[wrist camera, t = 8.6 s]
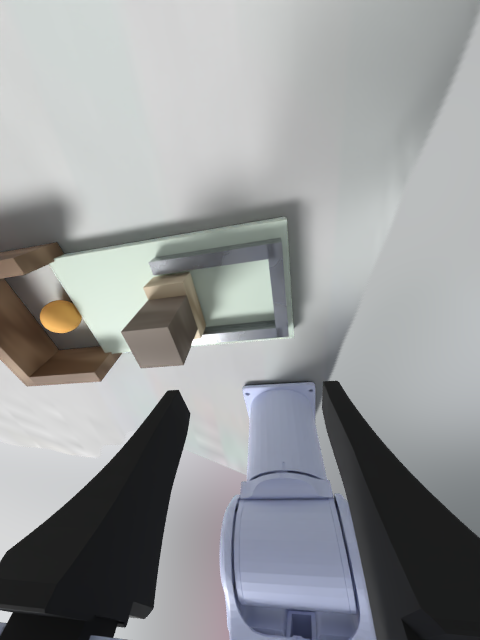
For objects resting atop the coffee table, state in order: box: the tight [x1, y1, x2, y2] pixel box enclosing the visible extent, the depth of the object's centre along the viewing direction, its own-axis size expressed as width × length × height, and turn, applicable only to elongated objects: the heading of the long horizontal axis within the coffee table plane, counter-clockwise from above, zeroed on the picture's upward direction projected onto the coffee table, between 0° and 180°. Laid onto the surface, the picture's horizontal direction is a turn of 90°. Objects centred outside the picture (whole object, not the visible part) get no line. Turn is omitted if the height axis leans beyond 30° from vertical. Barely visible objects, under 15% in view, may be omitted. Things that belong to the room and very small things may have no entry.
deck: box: [49, 217, 294, 354], centre depth 20 cm, size 10×19×1 cm, turn 100°
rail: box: [149, 238, 289, 345], centre depth 18 cm, size 8×10×1 cm
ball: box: [40, 300, 82, 333], centre depth 21 cm, size 3×3×3 cm
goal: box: [0, 242, 122, 386], centre depth 21 cm, size 12×8×4 cm
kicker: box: [121, 272, 206, 368], centre depth 17 cm, size 5×3×6 cm, turn 10°
